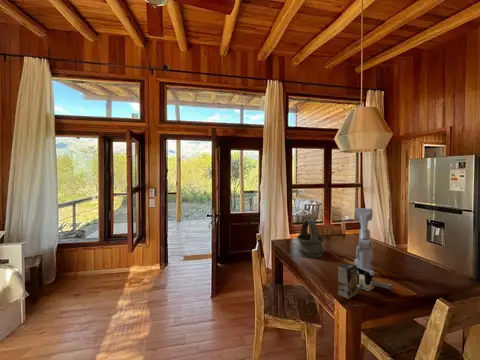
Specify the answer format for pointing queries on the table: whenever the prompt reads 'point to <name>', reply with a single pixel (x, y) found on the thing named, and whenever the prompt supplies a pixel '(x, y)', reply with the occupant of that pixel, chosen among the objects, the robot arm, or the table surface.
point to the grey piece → (380, 284)
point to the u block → (362, 281)
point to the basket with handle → (310, 240)
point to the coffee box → (347, 280)
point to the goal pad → (366, 288)
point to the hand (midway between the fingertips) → (365, 282)
